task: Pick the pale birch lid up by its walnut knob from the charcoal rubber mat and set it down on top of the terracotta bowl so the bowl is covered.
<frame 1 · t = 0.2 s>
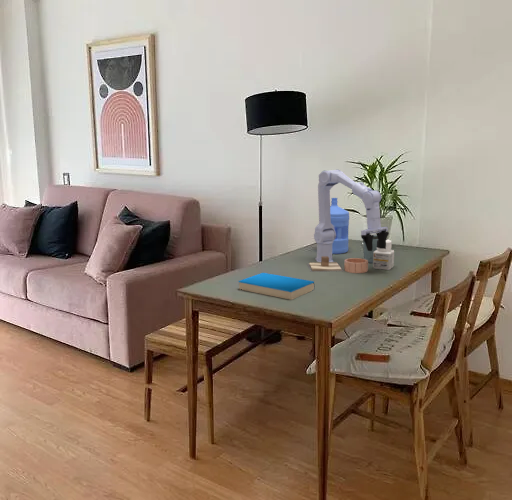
hand: (376, 249, 231), 11 cm above the table, tool pointing down, fingers open, 7 cm apart
lid: (324, 267, 242), point 1 cm above the table, touching mat
mat: (324, 268, 242), on the table
bowl: (355, 271, 237), on the table
water jug: (333, 251, 280), on the table
dark green cup: (372, 262, 256), on the table
container: (383, 267, 244), on the table
book: (276, 291, 210), on the table
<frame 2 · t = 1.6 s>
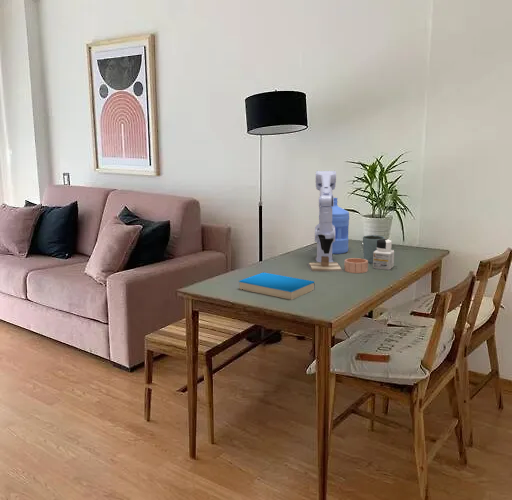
hand: (325, 251, 241), 8 cm above the table, tool pointing down, fingers open, 7 cm apart
nothing on the table moved.
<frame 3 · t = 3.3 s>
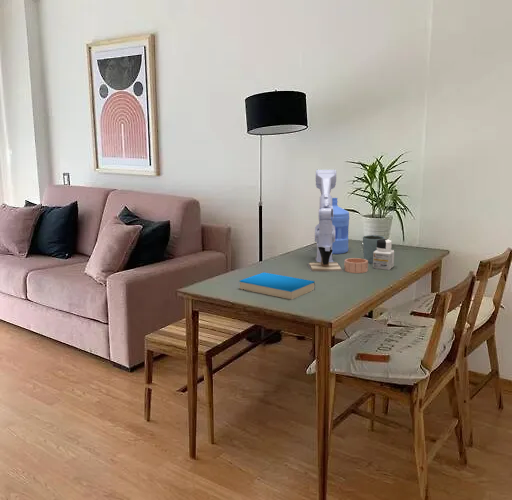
hand: (324, 263, 242), 2 cm above the table, tool pointing down, fingers closed on lid, 3 cm apart
lid: (324, 267, 242), point 1 cm above the table, touching gripper, mat
everything else where it was.
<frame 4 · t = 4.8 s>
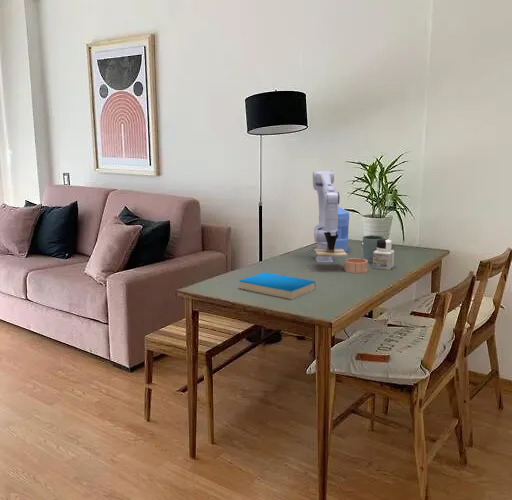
hand: (330, 248, 239), 9 cm above the table, tool pointing down, fingers closed on lid, 3 cm apart
lid: (330, 253, 240), point 7 cm above the table, touching gripper
everything else where it was.
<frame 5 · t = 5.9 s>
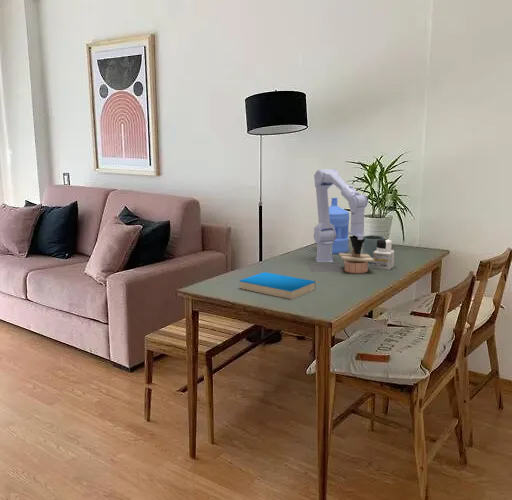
hand: (356, 253, 235), 8 cm above the table, tool pointing down, fingers closed on lid, 3 cm apart
lid: (355, 258, 236), point 6 cm above the table, touching gripper
everything else where it was.
when the fingers open (8 cm above the table, at t = 6.7 s): lid stays where it is, resting on bowl.
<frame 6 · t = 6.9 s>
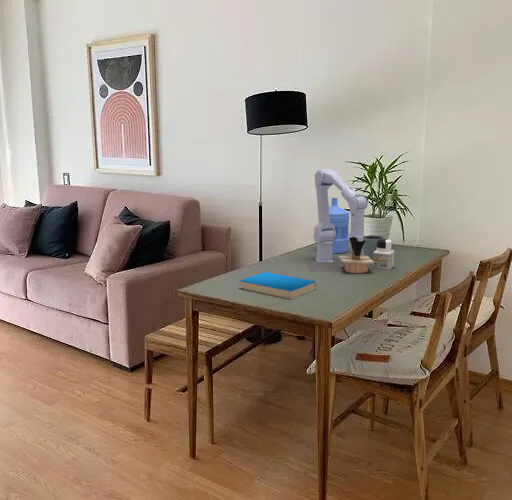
hand: (356, 254, 235), 8 cm above the table, tool pointing down, fingers open, 4 cm apart
lid: (355, 260, 236), point 5 cm above the table, touching bowl
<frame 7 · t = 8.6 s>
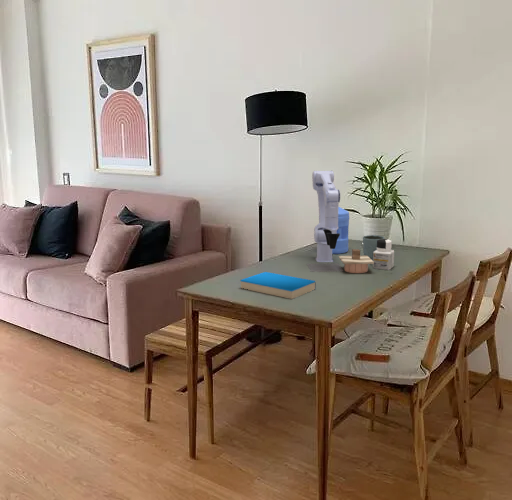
hand: (331, 246, 239), 10 cm above the table, tool pointing down, fingers open, 7 cm apart
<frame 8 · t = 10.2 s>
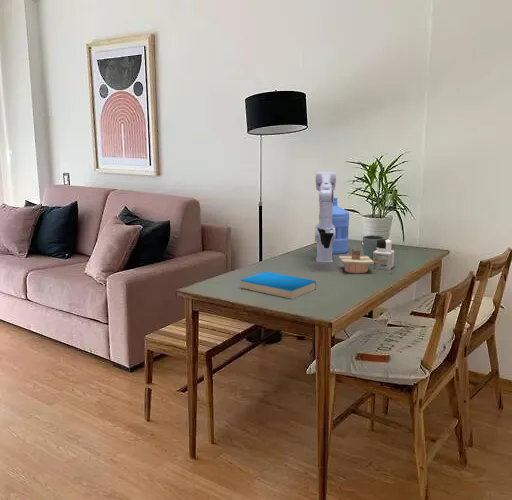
hand: (325, 246, 240), 10 cm above the table, tool pointing down, fingers open, 7 cm apart
at the end: lid 0.2 cm off-centre on the bowl, point 5.0 cm above the bowl's base; lid tilted 0°; the gripper is holding nothing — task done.
